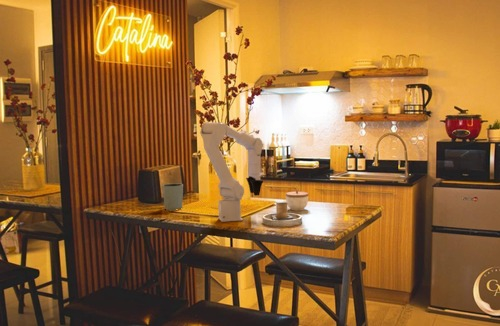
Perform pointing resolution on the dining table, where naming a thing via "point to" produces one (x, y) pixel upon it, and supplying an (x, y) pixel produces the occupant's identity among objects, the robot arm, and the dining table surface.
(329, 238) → the dining table surface
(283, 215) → the wood wick
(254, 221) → the dining table surface
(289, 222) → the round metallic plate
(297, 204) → the lidded jar
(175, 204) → the grey green cup
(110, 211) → the dining table surface
